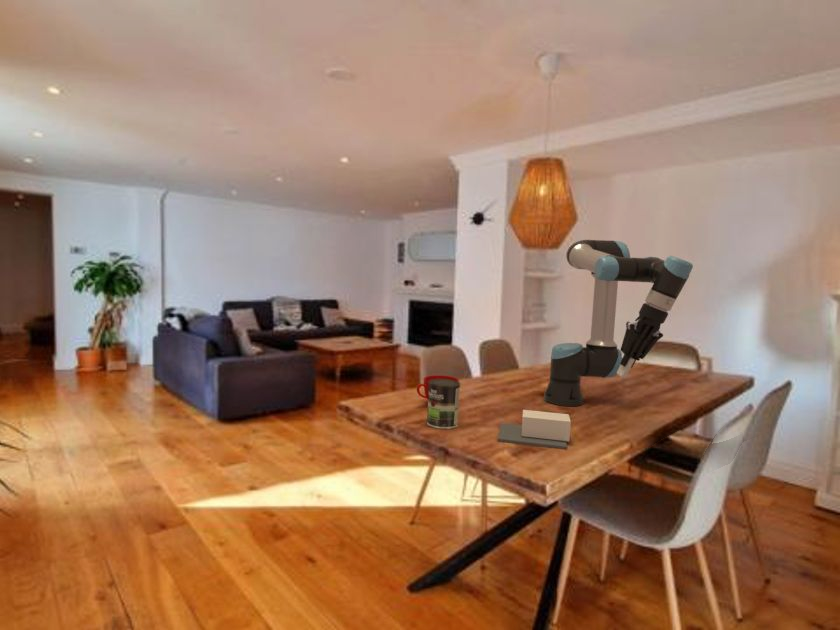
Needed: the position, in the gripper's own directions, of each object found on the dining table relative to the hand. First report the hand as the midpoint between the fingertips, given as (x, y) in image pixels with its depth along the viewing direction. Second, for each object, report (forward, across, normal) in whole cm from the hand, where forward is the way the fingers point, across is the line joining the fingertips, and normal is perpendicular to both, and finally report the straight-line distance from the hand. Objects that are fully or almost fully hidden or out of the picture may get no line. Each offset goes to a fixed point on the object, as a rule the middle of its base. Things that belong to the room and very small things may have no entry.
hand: (620, 375), depth 152 cm
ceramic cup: (+41, -38, +34) cm, 66 cm away
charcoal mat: (+27, -21, -1) cm, 34 cm away
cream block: (+19, -13, -5) cm, 23 cm away
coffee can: (+37, -44, +14) cm, 59 cm away
